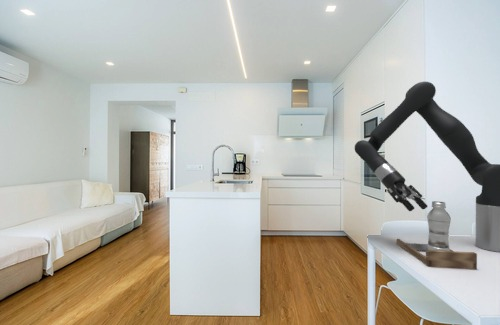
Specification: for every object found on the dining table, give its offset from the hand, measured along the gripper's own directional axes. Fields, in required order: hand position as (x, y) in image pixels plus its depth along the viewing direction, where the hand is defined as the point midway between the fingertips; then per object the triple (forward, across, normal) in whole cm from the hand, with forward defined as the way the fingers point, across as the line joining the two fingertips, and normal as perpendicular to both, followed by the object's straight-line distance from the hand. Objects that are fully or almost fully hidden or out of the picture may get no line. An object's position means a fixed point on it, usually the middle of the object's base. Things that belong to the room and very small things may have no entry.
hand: (419, 209), depth 89 cm
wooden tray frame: (+14, +2, +10) cm, 17 cm away
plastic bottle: (+16, 0, +7) cm, 18 cm away
